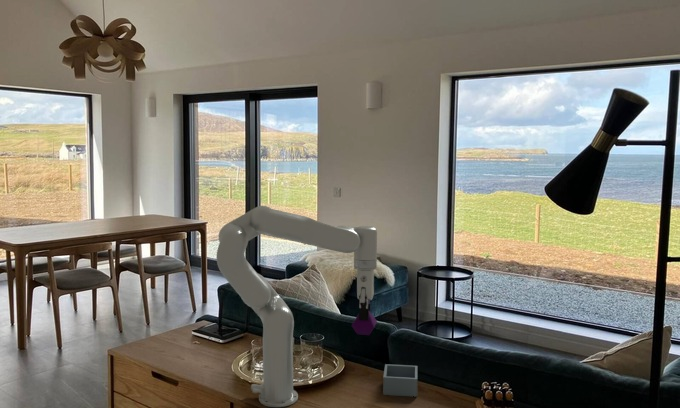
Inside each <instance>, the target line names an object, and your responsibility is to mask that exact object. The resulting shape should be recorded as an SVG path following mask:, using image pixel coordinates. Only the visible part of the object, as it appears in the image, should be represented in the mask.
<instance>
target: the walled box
mask: <svg viewBox="0 0 680 408" xmlns="http://www.w3.org/2000/svg"><path fill="white" fill-rule="evenodd" d="M382 379H383V380H382V381H383V382H382V383H383V384H382V395H383V396H398V397H399V396H400V397H413V396H414V397H415V398H417V397H418V365H408V364H407V365H406V364H390V363H389V364H386V363H385V364H384V370H383V376H382Z"/></svg>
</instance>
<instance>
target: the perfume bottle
mask: <svg viewBox="0 0 680 408" xmlns="http://www.w3.org/2000/svg"><path fill="white" fill-rule="evenodd" d="M359 297H360V296H359ZM365 299H367V297H365ZM365 302H366V301H365ZM377 322H378V320H377V319H376V318H375V316H374V315H373V314H372V313H371V310H370V311H369V319H368V320H359V313H358V314H357V315H356V317H355V319H354V321H353V323H351V327H352V329H353V330H354V331H355V333H356V335H363V336H370V335H371V333H372V331H373V330H374V329H375V327H376V324H377Z"/></svg>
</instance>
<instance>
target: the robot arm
mask: <svg viewBox="0 0 680 408" xmlns="http://www.w3.org/2000/svg"><path fill="white" fill-rule="evenodd" d="M260 235H263V236H267V237H270V238H271V237H272V238H275V239H276V238H277V239H282V240H287V241H291V242H296V243H301V244H302V245H303V244H304V245H308V246H313V247H316V248H322V249H325V250H329V251H333V252H338V253H342V254H343V253H345V254H350V253H353V269H354V270H356V271H357V272H356V294H357V296H356V297H357V300H359V307H358V314H359V320H368V319H369V311H370V312H371V302H370V301H372V300H373V298H374V296H375V283H374V282H375V275H374V274H375V273H374V271H375V270H377V268H378V267H377V265H378V264H377V263H378V262H377V260H378V259H377V258H378V257H377V256H378V231H377V229H376V228H375V227H374V226H368V225H361V226H349V225H348V226H346V225H337V226H334V225H330V224H327V223H323V222H320V221H318V220H315V219H313V218H311V217H308V216H304V215H301V214H298V213H297V214H296V213H291V212H287V211H286V212H285V211H283V210H279V209H275V208H270V207H269V206H267V205H258V206H256V207H254V208H252V209H250V210H249V211H247V212H246V213H244V214H242V215H240V216H239V217H237V218H235V219H233V220H231V221H230V222H227V223H226V224H225V225H223V226H222V227H221V229H220V230H219V233H218V242H219V243H218V247H217V250H216V264H217V268H218V269H219V271H220V273H221V275H222V276H223V277H224V278H225V280H226V281H227V282H228V283H229V285H230V286H231V287H232V288H233V290H234V291H235V293H236V294H238V295H239V297H240V298H241V300H242V302H243V303H244V304H245V305H247V306H248V307H250V308H251V309H252V310H253V311H254V313H255V314H256V315H257V316H258V317H259V318H260V320H261V322H262V327H263V328H262V329H263V330H262V363H263V364H262V367H263V368H262V372H263V373H262V375H263V376H262V377H263V383H260V384H257V383H256V384H255V383H252V384H251V386H250V389H251V390H250V391H252V394H259V395H258V401H259V403H260V404H261V405H263V406H264V407H268V408H269V407H270V408H284V407H288V406H291V405H293V404H295V403H296V402H297V401H298V399H299V394H298V392H297V391H296V390H295V389H294V356H293V355H294V354H293V353H294V351H293V348H294V346H293V343H294V342H293V340H294V339H293V338H294V327H295V320H294V315H293V312H292V311H291V309H290V307H289V306H288V304H287V303H286V302H285V300H284V299H283V298H282V297H281V296H280V295H279V294H278V293H277V291H276V290H275V289H274V287H272V285H271V284H270V283H269V281H268V280H267V279H266V278H265V277H264V276H263V275H261V274H260V273H258V272H257V271H256V270H255V269H254V268H253V266H252V264H250V263H249V262H248V260H247V258H246V255H245V253H246V249H247V247H248V244H249V241H252V240H253V239H254V238H255V237H257V236H260ZM359 296H360V297H359ZM365 297H367V299H365ZM365 301H366V302H365Z"/></svg>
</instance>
